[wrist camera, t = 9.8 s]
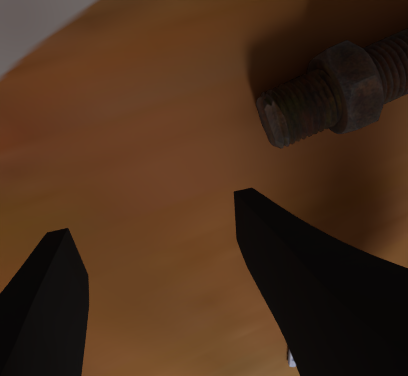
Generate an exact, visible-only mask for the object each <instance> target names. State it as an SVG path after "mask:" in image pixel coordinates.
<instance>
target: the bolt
mask: <svg viewBox="0 0 408 376" xmlns="http://www.w3.org/2000/svg"><path fill="white" fill-rule="evenodd" d="M406 94H408V28H407V29H405V30H402V31H401V32H399V33H396V34H394V35H391V36H389V37H387V38H384V39H383V40H381V41H378V42H376V43H373V44H371V45H369V46H366V47H365V48H361V47H360V46H357V45H356V44H354V43H352V42H350V41H348V40H346V41H344V42H341V43H339V44H337V45H335V46H332V47H330V48H328V49H326V50H324V51H323V52H321V53H320V54H318V55H317V56H316V57H314V58H313V59H312V60H311V61H310V63H309V65H308V69H307V74H306V75H302V76H301V77H297V78H296V79H292V80H291V81H290V82H286V83H284V85H279V86H278V88H276V87H275V88H273V89H272V90H268V91H267V93H265V92H263V93H262V94H261V97H260V98H258V99H257V102H256V106H257V109H258V113H259V117H260V120H261V123H262V126H263V128H264V130H265V132H266V135H267V137H268V140H269V142H270V143H271V144H272V145H273V146H276V147H279V148H283V146H284V145H285V146H289V144H290V143H291V144H293V143H294V142H295V141H300V139H301V138H302V139H305V138H306V136H308V137H310V136H312V134H317V132H318V131H319V132H321V131H323V130H324V129H328V128H329V129H330V130H331V131H333V132H335V133H337V134H343V133H348V132H351V131H354V130H358V129H360V128H362V127H365V126H367V125H369V124H371V123H374V122H376V121H378V119H379V116H380V113H381V110H382V108H383V104H386V103H387V102H391V101H392V100H394V99H397V98H399V97H401V96H403V95H406Z"/></svg>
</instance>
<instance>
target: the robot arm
mask: <svg viewBox="0 0 408 376" xmlns="http://www.w3.org/2000/svg"><path fill="white" fill-rule="evenodd" d="M234 203H235V220H236V237H237V242H238V245H239V247H240V250H241V253H242V255H243V258H244V260H245V263H246V265H247V267H248V269H249V271H250V273H251V275H252V277H253V279H254V281H255V283H256V284H257V286H258V288H259V290H260V292H261V294H262V296H263V297H264V299H265V301H266V303H267V305H268V307H269V309H270V310H271V312H272V314H273V316H274V318H275V320H276V322H277V323H278V325H279V328H280V330H281V332H282V334H283V336H284V338H285V340H286V343H287V345H288V347H289V356H288V364H289V366H290V367H294V366H296V367H297V369H298V371H299V374H300V376H408V268H405V267H403V266H400V265H397V264H395V263H392V262H389V261H386V260H384V259H381V258H378V257H376V256H374V255H371V254H369V253H366V252H364V251H362V250H359V249H357V248H355V247H353V246H351V245H348V244H346V243H344V242H342V241H340V240H338V239H336V238H334V237H332V236H330V235H328V234H326V233H324V232H322V231H320V230H319V229H317V228H315V227H313V226H311V225H310V224H308V223H306V222H304V221H303V220H301V219H299V218H298V217H296V216H294V215H293V214H291V213H290V212H288V211H287V210H285V209H283V208H282V207H280V206H279V205H277V204H276V203H274V202H273V201H271V200H270V199H268V198H267V197H265V196H264V195H262V194H261V193H259V192H258V191H256V190H255V189H253V188H248V189H244V190H239V191H234ZM88 311H89V282H88V273H87V271H86V269H85V266H84V264H83V262H82V259H81V257H80V255H79V252H78V250H77V248H76V245H75V243H74V240H73V238H72V236H71V233H70V231H69V229H68V228H65V229H61V230H56V231H52V232H47V233H46V235H45V236H44V237H43V238H42V240H41V241H40V242H39V244H38V245H37V246H36V248H35V249H34V250H33V252H32V253H31V254H30V256H29V257H28V259H27V260H26V261H25V263H24V264H23V265H22V266H21V268H20V269H19V270H18V272H17V273H16V274H15V276H14V277H13V278H12V280H11V281H10V282H9V283H8V285H7V286H6V287H5V288H4V290H3V291H2V292H1V293H0V376H81V374H82V365H83V356H84V347H85V339H86V330H87V320H88Z"/></svg>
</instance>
